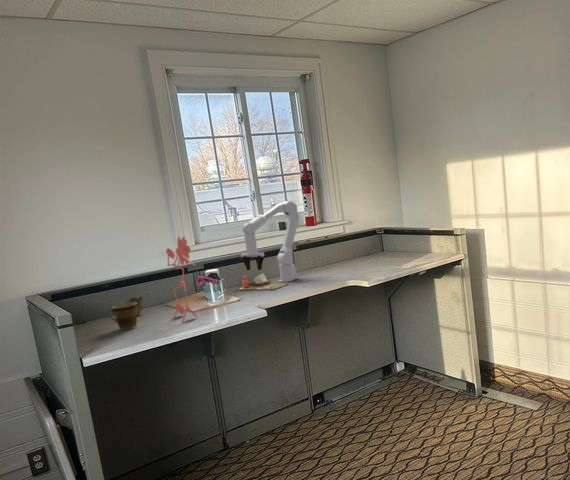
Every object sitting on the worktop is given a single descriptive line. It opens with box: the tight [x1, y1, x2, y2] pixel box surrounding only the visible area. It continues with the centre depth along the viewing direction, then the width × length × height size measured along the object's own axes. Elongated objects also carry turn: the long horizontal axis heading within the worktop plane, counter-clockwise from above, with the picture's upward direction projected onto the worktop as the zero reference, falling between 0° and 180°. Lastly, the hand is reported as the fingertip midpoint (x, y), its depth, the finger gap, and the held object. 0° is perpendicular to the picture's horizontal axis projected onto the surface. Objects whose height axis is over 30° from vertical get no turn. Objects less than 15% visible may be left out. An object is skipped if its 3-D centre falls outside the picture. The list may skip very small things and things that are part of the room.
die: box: [253, 273, 268, 284], centre depth 274 cm, size 5×5×5 cm
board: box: [238, 280, 290, 291], centre depth 270 cm, size 14×23×2 cm, turn 56°
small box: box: [204, 268, 220, 277], centre depth 265 cm, size 8×6×13 cm
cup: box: [126, 296, 144, 317], centre depth 237 cm, size 8×7×8 cm
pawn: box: [241, 275, 250, 288], centre depth 271 cm, size 3×3×6 cm
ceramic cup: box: [105, 302, 138, 332], centre depth 211 cm, size 13×10×10 cm
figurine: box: [166, 236, 210, 321], centre depth 220 cm, size 15×26×35 cm, turn 36°
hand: (254, 270), depth 276 cm, fingers open, 7 cm apart
